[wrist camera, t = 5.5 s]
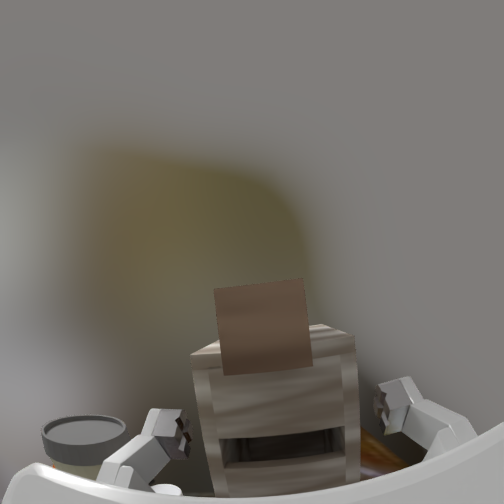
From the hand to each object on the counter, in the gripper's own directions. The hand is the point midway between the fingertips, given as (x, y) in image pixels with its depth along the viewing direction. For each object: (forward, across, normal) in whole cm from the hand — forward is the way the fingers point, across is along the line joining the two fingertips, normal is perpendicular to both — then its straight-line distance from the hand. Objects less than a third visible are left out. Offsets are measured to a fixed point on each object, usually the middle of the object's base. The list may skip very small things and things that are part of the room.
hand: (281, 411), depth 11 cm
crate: (+3, -1, -30) cm, 30 cm away
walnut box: (+10, 0, -4) cm, 11 cm away
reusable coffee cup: (+3, -26, -30) cm, 39 cm away
